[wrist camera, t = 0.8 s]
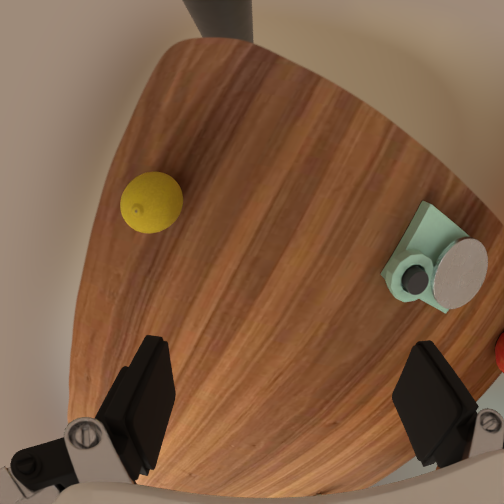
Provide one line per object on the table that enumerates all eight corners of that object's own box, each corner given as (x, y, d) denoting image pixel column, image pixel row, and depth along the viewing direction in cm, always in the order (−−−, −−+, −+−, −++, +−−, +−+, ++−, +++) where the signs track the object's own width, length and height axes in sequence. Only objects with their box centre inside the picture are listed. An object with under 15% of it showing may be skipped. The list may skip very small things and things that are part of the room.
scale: (371, 277, 32) (381, 291, 29) (417, 196, 28) (433, 202, 25) (436, 311, 34) (448, 325, 30) (476, 245, 30) (491, 254, 27)
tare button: (397, 283, 29) (402, 289, 27) (410, 261, 28) (417, 267, 26) (413, 292, 29) (419, 298, 28) (426, 271, 28) (433, 277, 27)
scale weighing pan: (433, 241, 27) (437, 244, 26) (487, 232, 26) (491, 234, 25) (426, 312, 30) (429, 316, 29) (478, 297, 29) (481, 300, 28)
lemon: (183, 226, 30) (159, 253, 23) (136, 211, 30) (101, 232, 22) (197, 177, 28) (176, 187, 21) (148, 162, 28) (113, 168, 20)
